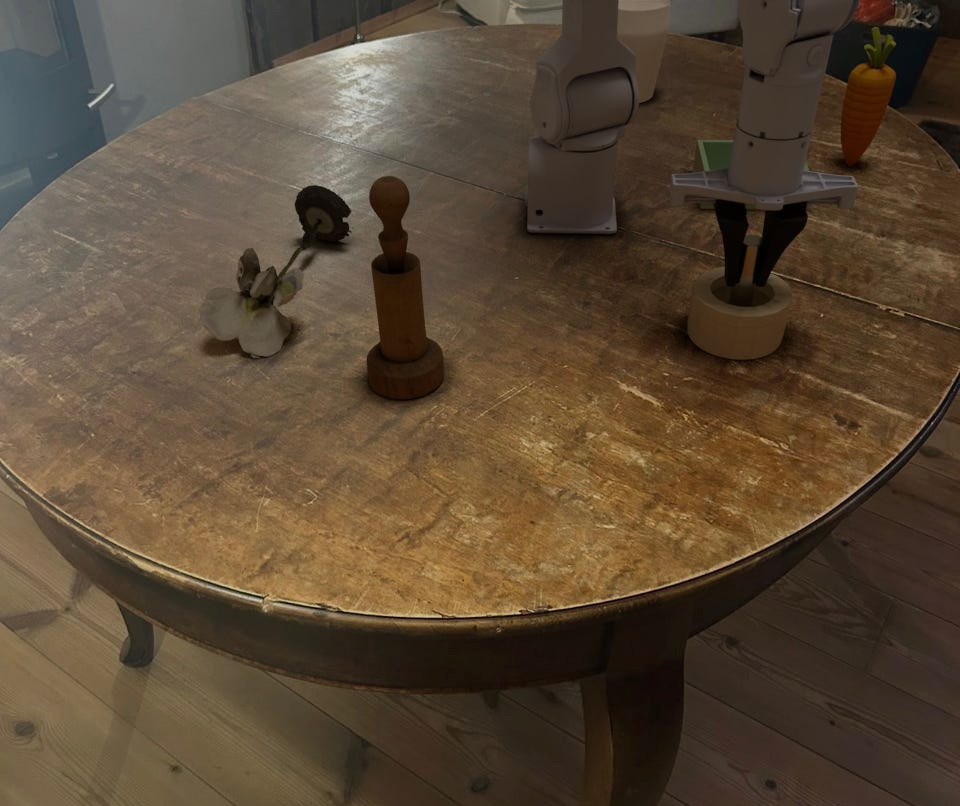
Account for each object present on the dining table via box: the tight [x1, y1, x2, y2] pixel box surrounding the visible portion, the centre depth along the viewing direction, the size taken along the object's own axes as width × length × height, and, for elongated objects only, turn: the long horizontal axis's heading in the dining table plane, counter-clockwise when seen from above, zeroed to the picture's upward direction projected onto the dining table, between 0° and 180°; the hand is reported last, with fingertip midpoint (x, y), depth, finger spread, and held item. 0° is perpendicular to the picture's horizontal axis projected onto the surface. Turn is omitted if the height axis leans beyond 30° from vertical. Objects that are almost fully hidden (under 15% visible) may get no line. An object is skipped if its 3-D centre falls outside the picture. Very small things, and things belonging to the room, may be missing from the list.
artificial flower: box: [198, 184, 354, 359], centre depth 88 cm, size 9×22×10 cm, turn 160°
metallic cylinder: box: [728, 234, 764, 307], centre depth 81 cm, size 2×3×9 cm
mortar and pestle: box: [366, 175, 445, 400], centre depth 74 cm, size 7×6×18 cm
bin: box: [692, 139, 811, 211], centre depth 104 cm, size 11×9×4 cm
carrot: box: [840, 26, 897, 167], centre depth 104 cm, size 5×5×15 cm
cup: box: [617, 0, 672, 104], centre depth 123 cm, size 9×9×12 cm
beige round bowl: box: [686, 265, 794, 361], centre depth 83 cm, size 8×8×4 cm
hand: (744, 280), depth 81 cm, fingers closed on metallic cylinder, 2 cm apart
